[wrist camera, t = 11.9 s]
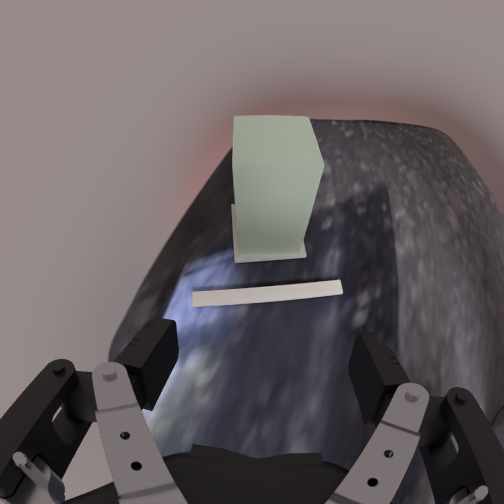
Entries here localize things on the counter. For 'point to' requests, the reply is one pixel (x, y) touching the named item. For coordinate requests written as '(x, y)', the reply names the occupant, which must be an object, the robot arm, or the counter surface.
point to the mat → (254, 258)
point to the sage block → (274, 182)
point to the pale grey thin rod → (266, 293)
